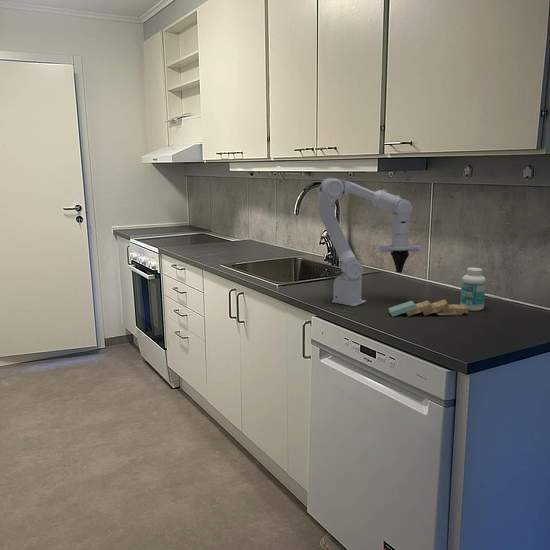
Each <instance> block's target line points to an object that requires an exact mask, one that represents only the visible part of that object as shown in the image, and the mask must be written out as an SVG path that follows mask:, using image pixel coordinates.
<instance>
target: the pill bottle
mask: <svg viewBox="0 0 550 550" xmlns="http://www.w3.org/2000/svg"><path fill="white" fill-rule="evenodd" d="M466 273H467V274H465V275H463V276H462V277H461V289H460V301H459V304H464V305H466V306H467V307H468V311H475V312H477V311H482V310H483V309H484V307H485V298H486V297H485V296H486V284H487V283H486V281H487V280H486V279H487V278H486V277H485V276H484V275H482V273H483V268H479V267H467V268H466Z"/></svg>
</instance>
